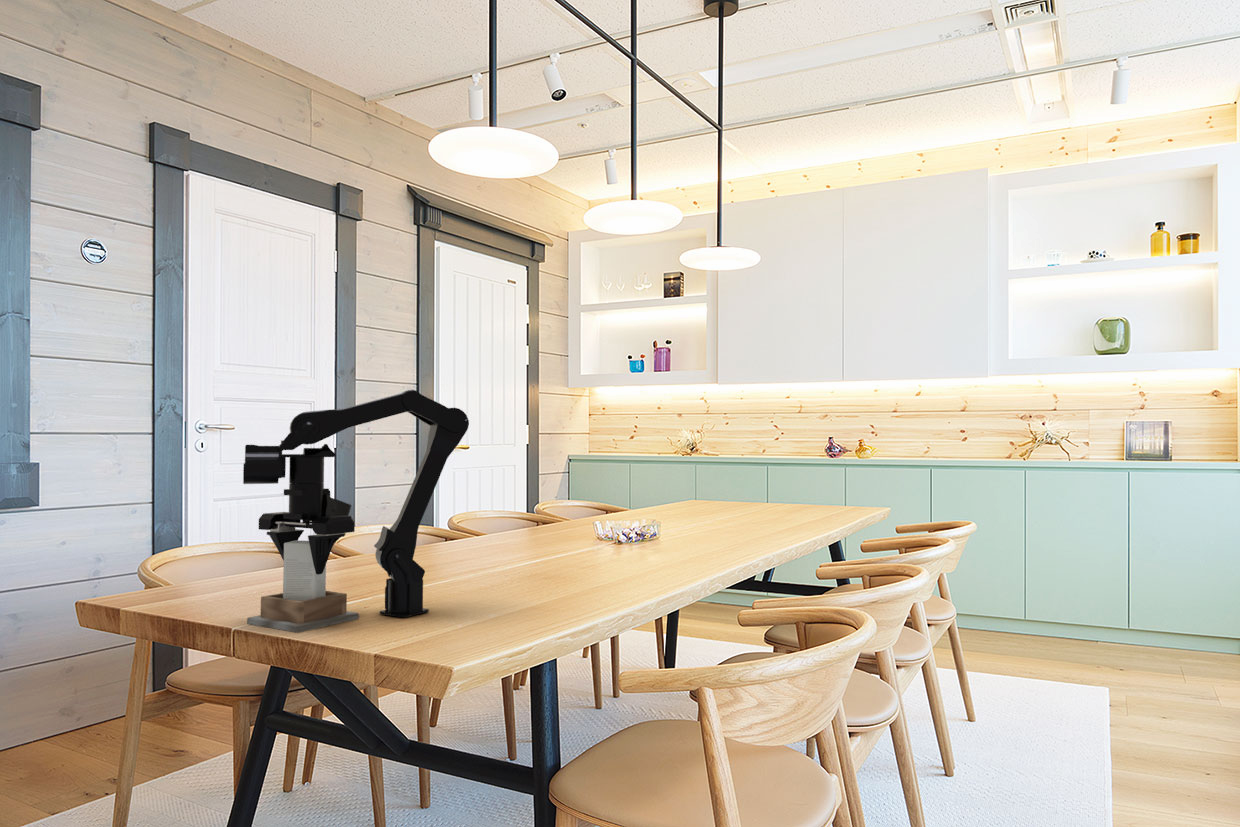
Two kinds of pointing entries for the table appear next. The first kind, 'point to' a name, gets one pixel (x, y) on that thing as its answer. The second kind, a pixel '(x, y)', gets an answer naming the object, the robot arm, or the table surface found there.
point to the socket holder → (303, 612)
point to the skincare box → (301, 573)
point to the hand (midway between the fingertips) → (305, 572)
